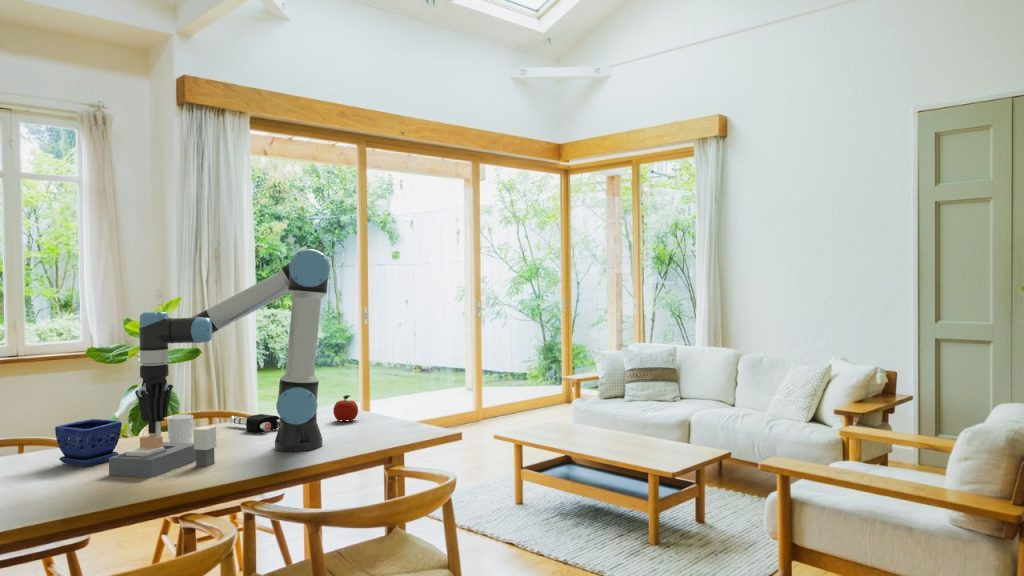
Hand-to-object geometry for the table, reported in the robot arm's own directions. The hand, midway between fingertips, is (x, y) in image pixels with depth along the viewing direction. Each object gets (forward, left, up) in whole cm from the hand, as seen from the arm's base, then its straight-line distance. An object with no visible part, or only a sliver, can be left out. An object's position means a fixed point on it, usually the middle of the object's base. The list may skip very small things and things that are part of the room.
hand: (155, 443), depth 204 cm
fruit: (-25, -74, -7) cm, 78 cm away
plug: (-13, -5, -7) cm, 16 cm away
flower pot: (+25, -2, -7) cm, 26 cm away
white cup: (+11, -25, -7) cm, 28 cm away
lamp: (+4, -55, -7) cm, 55 cm away
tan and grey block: (0, +4, -2) cm, 5 cm away
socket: (0, 0, -7) cm, 7 cm away
